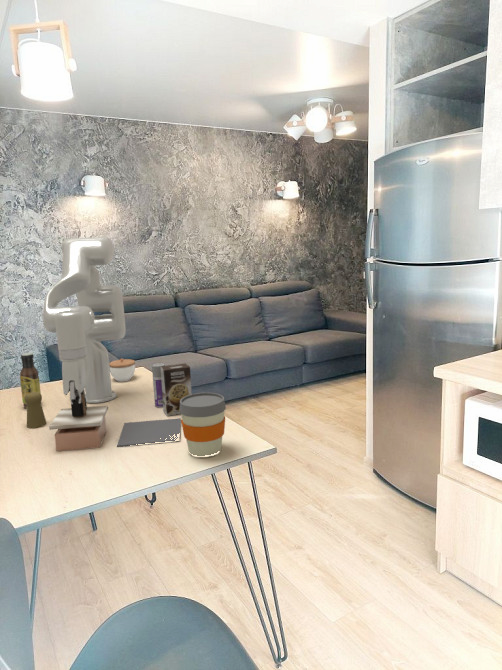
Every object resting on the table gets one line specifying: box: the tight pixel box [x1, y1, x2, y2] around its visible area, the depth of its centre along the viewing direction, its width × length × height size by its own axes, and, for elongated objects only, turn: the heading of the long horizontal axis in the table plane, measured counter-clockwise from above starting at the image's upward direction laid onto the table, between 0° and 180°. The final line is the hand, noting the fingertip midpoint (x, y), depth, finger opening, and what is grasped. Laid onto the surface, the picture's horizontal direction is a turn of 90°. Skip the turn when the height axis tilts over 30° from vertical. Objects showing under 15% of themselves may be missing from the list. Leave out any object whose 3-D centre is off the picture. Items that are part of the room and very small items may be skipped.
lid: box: [48, 394, 109, 431], centre depth 144 cm, size 14×14×7 cm
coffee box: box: [161, 363, 193, 417], centre depth 166 cm, size 9×6×16 cm
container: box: [151, 362, 166, 409], centre depth 173 cm, size 5×5×15 cm
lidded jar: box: [109, 358, 136, 383], centre depth 209 cm, size 11×11×9 cm
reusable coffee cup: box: [180, 392, 227, 456], centre depth 134 cm, size 13×13×15 cm
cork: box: [24, 392, 47, 429], centre depth 159 cm, size 6×6×11 cm
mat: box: [116, 417, 182, 448], centre depth 150 cm, size 18×18×1 cm
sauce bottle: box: [19, 352, 42, 409], centre depth 177 cm, size 6×6×20 cm
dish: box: [54, 416, 107, 452], centre depth 145 cm, size 12×12×5 cm
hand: (79, 412), depth 145 cm, fingers closed on lid, 3 cm apart
